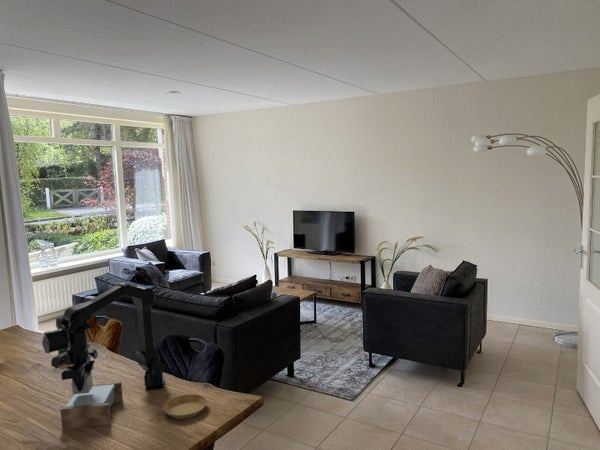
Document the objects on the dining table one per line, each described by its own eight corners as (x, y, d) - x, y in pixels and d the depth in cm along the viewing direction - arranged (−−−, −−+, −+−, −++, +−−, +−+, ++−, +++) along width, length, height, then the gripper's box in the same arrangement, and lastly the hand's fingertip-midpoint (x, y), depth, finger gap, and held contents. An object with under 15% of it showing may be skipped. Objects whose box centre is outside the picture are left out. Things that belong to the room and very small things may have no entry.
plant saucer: (170, 401, 169) (170, 394, 169) (211, 400, 169) (210, 393, 168) (158, 423, 154) (157, 415, 154) (202, 422, 154) (201, 414, 154)
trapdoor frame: (122, 399, 171) (121, 381, 170) (110, 424, 154) (108, 404, 153) (79, 404, 169) (78, 385, 168) (62, 429, 152) (60, 409, 151)
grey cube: (92, 386, 163) (91, 372, 162) (88, 392, 158) (87, 378, 157) (78, 387, 162) (76, 374, 162) (72, 394, 157) (71, 380, 157)
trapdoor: (115, 397, 169) (114, 384, 168) (104, 417, 155) (103, 403, 154) (80, 400, 167) (79, 387, 167) (66, 421, 153) (65, 406, 153)
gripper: (63, 336, 166) (67, 377, 168) (41, 356, 148) (46, 403, 150) (96, 333, 168) (100, 374, 169) (78, 353, 149) (83, 399, 151)
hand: (82, 387), depth 160 cm, fingers closed on grey cube, 5 cm apart
